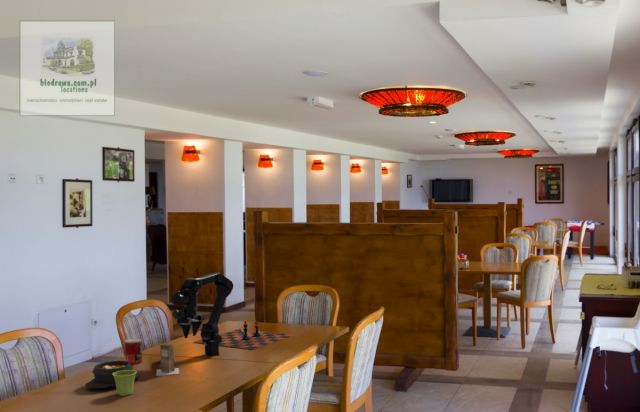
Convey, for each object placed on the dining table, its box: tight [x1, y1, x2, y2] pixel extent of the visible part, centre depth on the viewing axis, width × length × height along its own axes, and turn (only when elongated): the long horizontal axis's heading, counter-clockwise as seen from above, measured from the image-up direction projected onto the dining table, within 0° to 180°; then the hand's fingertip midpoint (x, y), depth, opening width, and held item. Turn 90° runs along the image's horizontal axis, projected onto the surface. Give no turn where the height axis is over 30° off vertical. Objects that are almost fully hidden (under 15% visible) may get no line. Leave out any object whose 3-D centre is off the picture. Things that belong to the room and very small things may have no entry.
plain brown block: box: [159, 342, 176, 373], centre depth 310 cm, size 4×4×12 cm
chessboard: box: [193, 320, 295, 351], centre depth 376 cm, size 40×40×11 cm
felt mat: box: [155, 367, 180, 377], centre depth 310 cm, size 10×10×1 cm
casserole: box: [84, 360, 140, 389], centre depth 293 cm, size 25×19×8 cm
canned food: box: [124, 337, 143, 365], centre depth 329 cm, size 8×8×11 cm
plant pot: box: [113, 369, 138, 397], centre depth 278 cm, size 9×9×9 cm
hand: (190, 337), depth 328 cm, fingers open, 9 cm apart
